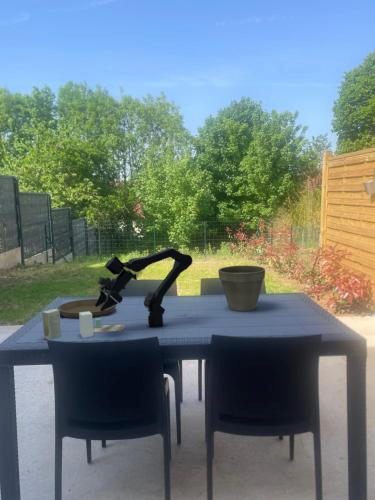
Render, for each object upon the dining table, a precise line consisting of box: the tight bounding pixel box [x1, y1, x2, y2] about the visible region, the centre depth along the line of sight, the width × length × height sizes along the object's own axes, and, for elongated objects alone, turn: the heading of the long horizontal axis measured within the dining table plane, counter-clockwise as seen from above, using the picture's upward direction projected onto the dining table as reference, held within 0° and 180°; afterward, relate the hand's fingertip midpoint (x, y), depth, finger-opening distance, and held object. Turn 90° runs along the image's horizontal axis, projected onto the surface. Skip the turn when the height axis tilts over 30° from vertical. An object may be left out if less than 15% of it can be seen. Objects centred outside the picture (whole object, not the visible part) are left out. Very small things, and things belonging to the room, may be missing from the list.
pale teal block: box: [95, 317, 102, 328], centre depth 201 cm, size 2×2×4 cm
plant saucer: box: [57, 298, 117, 319], centre depth 233 cm, size 31×31×5 cm
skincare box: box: [42, 308, 62, 340], centre depth 188 cm, size 6×4×12 cm
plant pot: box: [218, 265, 266, 312], centre depth 231 cm, size 25×25×22 cm
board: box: [93, 324, 126, 333], centre depth 199 cm, size 14×10×1 cm
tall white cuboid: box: [78, 311, 94, 339], centre depth 189 cm, size 4×6×10 cm
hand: (98, 308), depth 190 cm, fingers open, 9 cm apart
